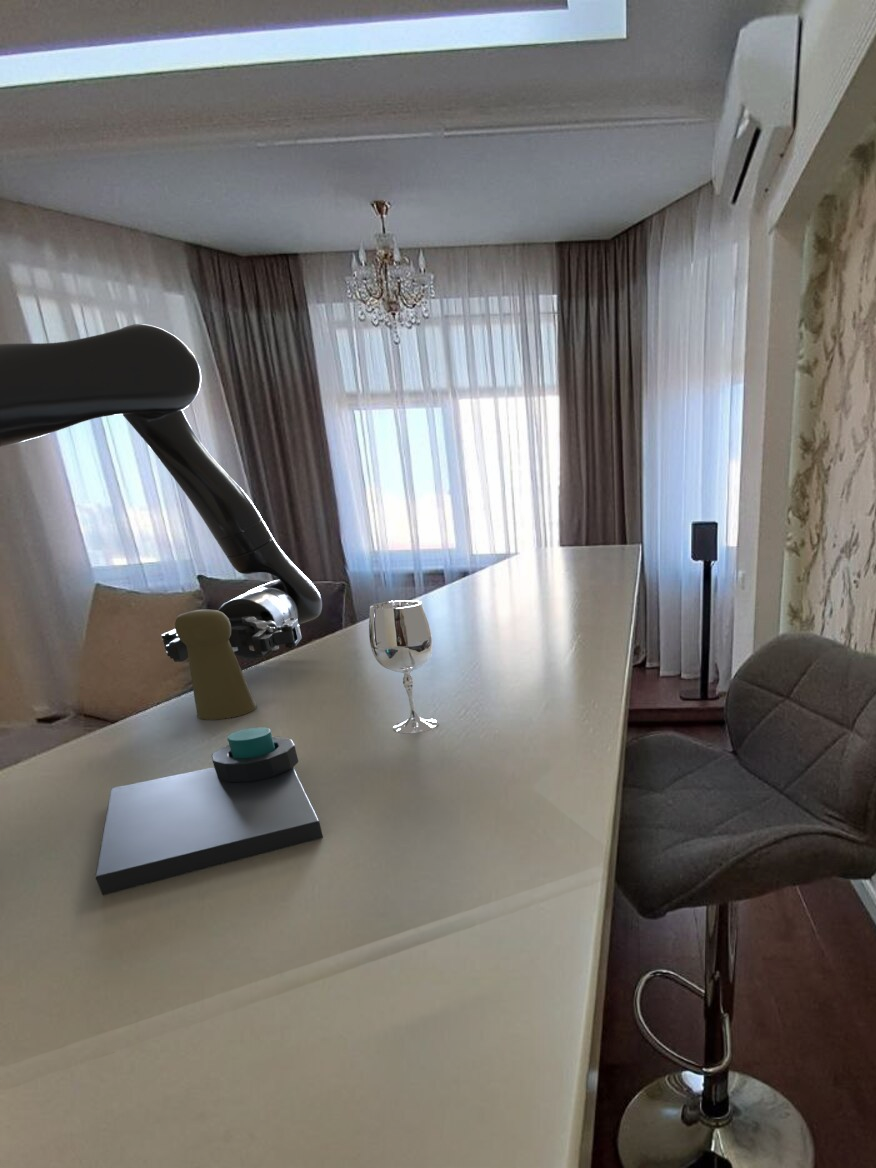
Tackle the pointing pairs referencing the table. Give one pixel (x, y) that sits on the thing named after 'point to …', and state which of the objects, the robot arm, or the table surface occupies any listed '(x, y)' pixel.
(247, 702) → the cork
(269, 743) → the button
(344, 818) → the table surface
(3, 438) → the robot arm
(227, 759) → the scale
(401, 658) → the wineglass
